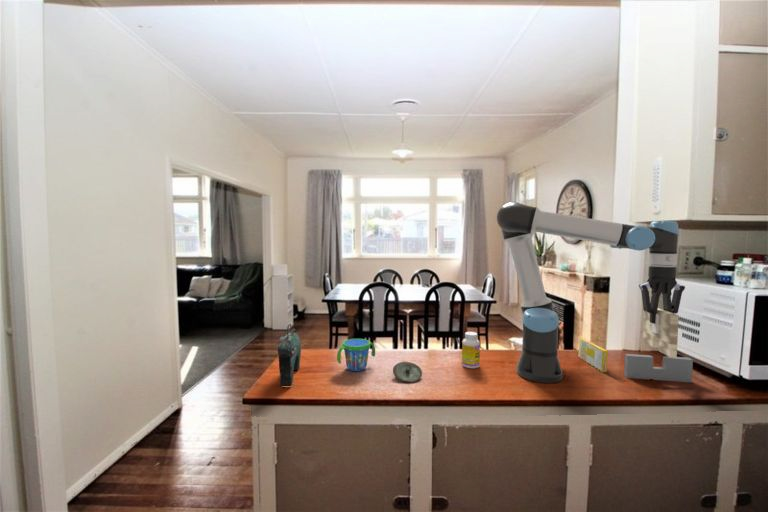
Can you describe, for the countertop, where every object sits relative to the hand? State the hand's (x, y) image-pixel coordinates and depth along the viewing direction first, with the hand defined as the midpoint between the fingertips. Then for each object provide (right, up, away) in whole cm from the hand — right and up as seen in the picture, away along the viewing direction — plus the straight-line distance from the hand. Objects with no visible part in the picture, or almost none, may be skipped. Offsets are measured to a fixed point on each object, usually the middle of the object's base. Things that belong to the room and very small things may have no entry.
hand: (659, 332), depth 120 cm
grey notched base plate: (0, -17, +1) cm, 17 cm away
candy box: (-15, -16, +15) cm, 26 cm away
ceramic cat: (-130, -17, +3) cm, 131 cm away
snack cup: (-107, -16, +11) cm, 109 cm away
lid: (-88, -17, +3) cm, 90 cm away
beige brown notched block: (0, -6, 0) cm, 6 cm away
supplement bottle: (-63, -16, +14) cm, 66 cm away
